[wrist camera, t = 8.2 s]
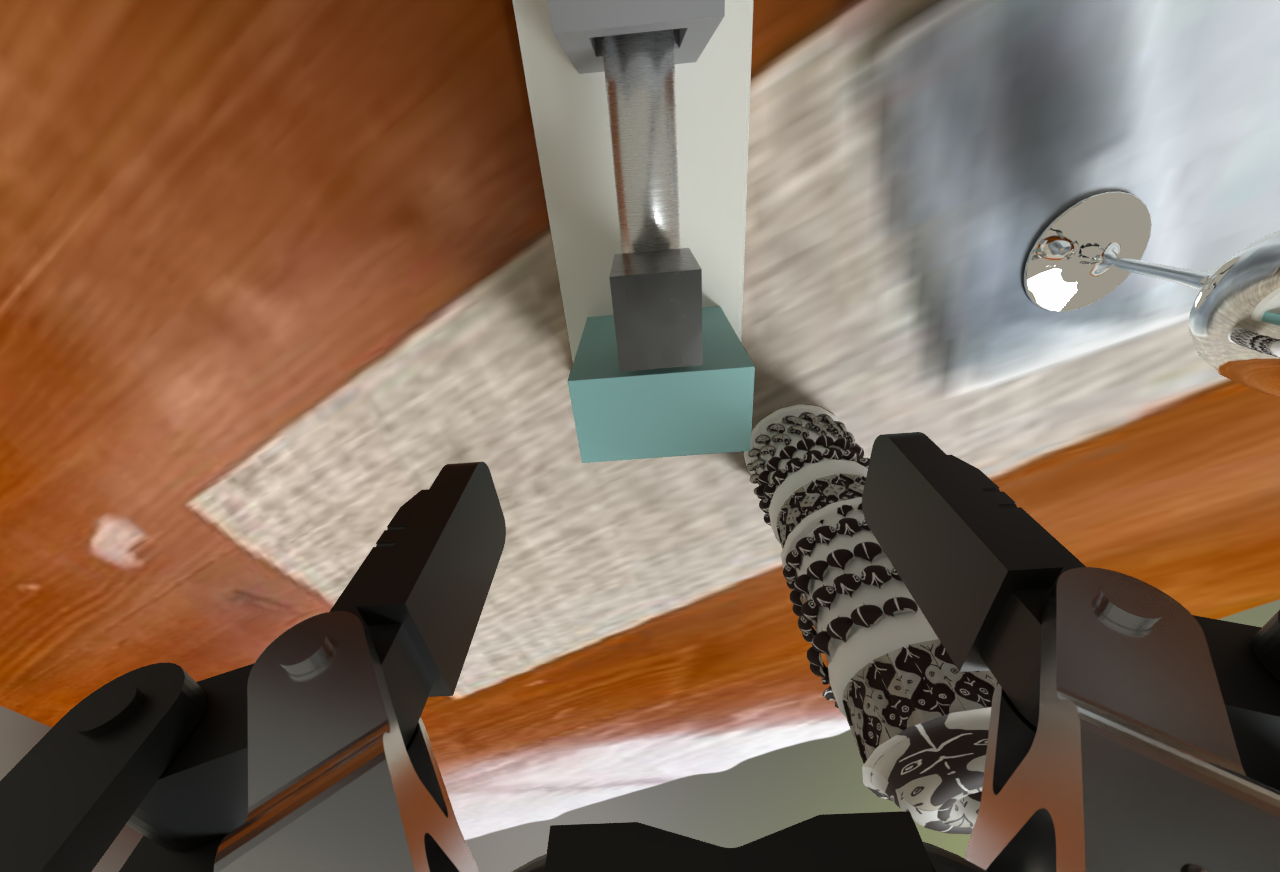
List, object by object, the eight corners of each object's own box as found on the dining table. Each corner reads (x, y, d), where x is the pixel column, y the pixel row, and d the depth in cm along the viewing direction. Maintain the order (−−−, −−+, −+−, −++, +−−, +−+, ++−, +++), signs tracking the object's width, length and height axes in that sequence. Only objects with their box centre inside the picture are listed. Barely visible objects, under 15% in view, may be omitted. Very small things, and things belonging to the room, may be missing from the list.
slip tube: (581, -111, 18) (548, -272, 11) (673, -122, 18) (695, -291, 11) (630, 381, 29) (628, 448, 22) (687, 376, 29) (703, 443, 22)
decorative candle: (737, 496, 41) (846, 861, 20) (740, 404, 36) (889, 754, 15) (840, 488, 41) (1065, 852, 19) (857, 395, 36) (1180, 740, 15)
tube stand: (460, -349, 19) (292, -837, 9) (759, -390, 18) (882, -940, 9) (578, 377, 35) (558, 453, 26) (736, 365, 35) (772, 438, 26)
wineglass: (1088, 324, 33) (1571, 499, 16) (995, 297, 32) (1405, 454, 15) (1178, 208, 29) (1941, 276, 12) (1075, 173, 28) (1752, 195, 11)
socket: (587, 317, 31) (567, 381, 22) (720, 306, 31) (754, 366, 22) (596, 381, 34) (582, 462, 25) (719, 372, 33) (750, 450, 24)
